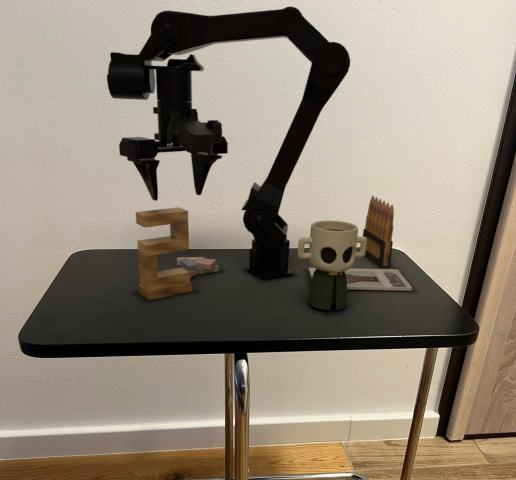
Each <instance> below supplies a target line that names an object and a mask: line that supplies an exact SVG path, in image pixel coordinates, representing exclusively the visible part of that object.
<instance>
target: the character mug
mask: <svg viewBox="0 0 516 480" xmlns="http://www.w3.org/2000/svg"><path fill="white" fill-rule="evenodd" d="M358 235H359V227H358V226H357V225H356V224H355V223H352V222H347V221H343V220H342V221H341V220H328V219H327V220H318V221H314V222H312V223H311V224H310V233H309V237H301V238H299V239H298V241H297V242H298V243H297V258H298V259H300V260H308V262H309V265H310V266H311V268H316V270H315V271H314V273H313V277H312V279H311V282H310V285H309V290H308V296H307V301H308V303H309V304H310V306H312V307H314V308H316V309H319V310H324V311H331V310H332V309H331V308H332V306H335V310H336V311H338V310H342V309H345V308H346V307H347V305H348V289H347V277H346V274H345V271H346V270H349V269H352V268H353V266H354V264H355V261H356V259H358V258H363V257H366V256H365V252H366V244H367V238H366V237H363V236H358ZM357 244H359V245H360V246H359V251H357ZM305 245H308V246H309V247H308V252H305Z"/></svg>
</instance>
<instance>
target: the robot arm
mask: <svg viewBox="0 0 516 480" xmlns="http://www.w3.org/2000/svg"><path fill="white" fill-rule="evenodd" d="M283 38H284V39H287V40H288V41H289V42H290V43H291V44H292V45H293V46H294V47H295V48H296V49H297V50H298V51H299V52H300V53H301V54H302V55H303V57H305V58H306V59H307V60H308V61H309V63H311V64H310V67H309V72H308V76H307V80H306V83H305V87H304V91H303V94H302V98H301V101H300V103H299V105H298V108H297V110H296V112H295V114H294V116H293V118H292V121H291V123H290V125H289V127H288V130H287V132H286V134H285V136H284V139H283V141H282V143H281V145H280V147H279V150H278V152H277V154H276V157H275V158H274V161H273V163H272V164H271V168H270V170H269V173H268V175H266V178H265V179H264V181H263V182H262V183H261V185H260V184H258V183H257V182H253V183H252V186H251V188H250V190H249V194H248V198H247V199H246V200H245V202H244V203H243V206H242V207H241V211H244V213H243V216H242V222H243V225H244V228H245V229H246V230H247V231H248V232H249V233H250V234H252V237H253V239H251V247H250V248H249V254H248V257H249V258H248V266H247V267H246V271H248V272H250V273H251V274H253V275H254V276H256V277H258V278H260V279H261V280H271V279H276V278H284V277H289V276H293V273H294V272H293V271H292V270H290V269H289V261H290V245H291V240H290V239H288V238H287V237H288V231H289V224H288V223H287V221H285V219H284V218H283V217H282V216H281V215H280V214H279V212H280V209H281V205H282V201H283V197H284V193H285V190H286V187H287V185H288V183H289V181H290V179H291V176H292V175H293V172H294V170H295V168H296V166H297V163H298V162H299V159H300V157H301V155H302V153H303V151H304V149H305V146H306V145H307V143H308V140H309V138H310V136H311V133H312V132H313V130H314V128H315V125H316V123H317V121H318V119H319V116H320V114H321V112H322V110H323V109H324V107H325V106H326V105H327V103H328V102H329V100H330V99H331V98H332V96H333V95H334V93H335V92H336V91H337V89H338V88H339V86H340V85H341V83H342V82H343V80H344V79H345V77H346V76H347V75H348V73H349V69H350V67H351V58H350V54H349V51H348V50H347V48H346V47H345V46H344V45H343V44H341V43H340V42H336V41H329V40H328V39H327V38H326V37H325V36H324V35H323V34H322V33H321V32H320V31H319V30H318V29H317V28H316V27H315V26H314V25H313V24H312V23H311V22H310V21H308V20H307V19H306V17H304V16H303V13H302V12H301V10H300V9H299V8H297V7H295V6H286V7H284V8H280V9H269V10H268V9H267V10H259V11H258V10H257V11H249V12H248V11H247V12H237V13H226V14H225V13H224V14H217V15H206V14H198V13H192V12H186V11H176V10H175V11H174V10H163V11H160V12H158V13H157V14H156V15H155V17H154V18H153V20H152V22H151V25H150V35H149V36H148V39H147V40H146V42H145V43H144V45H143V47H142V48H141V50H140V51H139V53H138V54H134V53H133V54H131V53H123V52H117V51H111V52H110V61H109V63H108V67H107V74H106V82H107V89H108V92H109V95H110V97H111V98H112V99H116V100H117V99H118V100H139V101H141V100H142V101H148V100H149V98H150V94H154V93H155V91H156V106H153V107H152V114H153V115H154V114H155V115H157V129H158V131H157V132H154V133H153V134H154V135H153V136H154V138H149V137H143V136H127V137H122V138H121V140H120V141H119V144H118V151H119V156H121V157H125V158H126V159H127V161H128V162H132V163H133V165H134V166H135V168H136V170H137V171H138V173H139V175H140V177H141V179H142V181H143V183H144V185H145V187H146V189H147V191H148V194H149V195H150V197H151V200H152V201H155V202H156V201H158V200H159V186H158V185H159V184H158V167H159V165H160V163H161V160H159V159H156V157H157V156H158V154H160V153H177V152H187V153H188V154H190V158H191V169H192V177H193V185H194V186H193V187H194V191H195V195H196V196H201V195H202V193H203V190H204V188H205V184H206V181H207V178H208V175H209V173H210V171H211V169H212V166H213V165H214V164H215V163H216V162H217V161H218V160H221V159H222V158H223V155H225V154H229V143H228V141H227V139H226V137H225V136H223V124H222V122H221V121H219V120H218V119H208V120H207V121H206V122H204V121H203V122H201V121H200V120H199V113H198V112H199V111H198V108H193V79H192V78H193V76H192V75H193V74H192V73H193V72H203V71H204V70H205V67H204V66H203V65H202V64H201V63H200V61H198V59H197V57H196V55H195V54H193V52H195V51H199V50H202V49H204V48H206V47H210V46H214V45H216V44H229V43H238V42H240V43H241V42H249V41H250V42H251V41H262V40H272V39H283ZM188 53H189V55H188V56H187V58H183V59H182V58H170V57H171V56H182V55H186V54H188ZM167 59H168V60H167ZM166 60H167V63H166V65H153V62H165V61H166Z"/></svg>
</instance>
